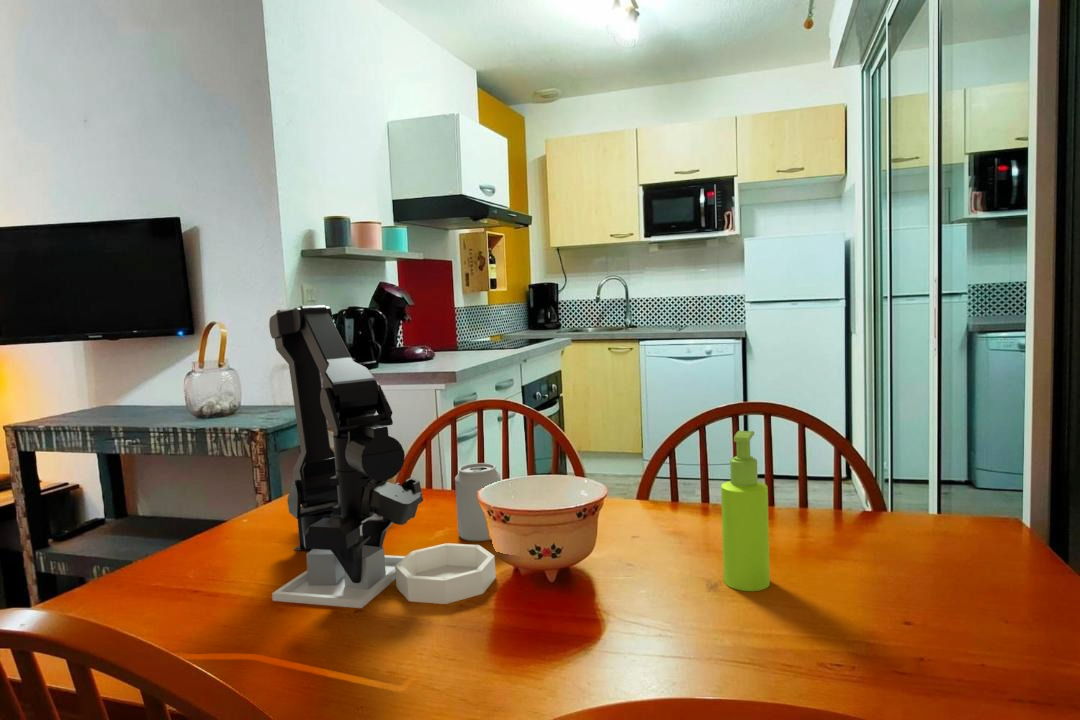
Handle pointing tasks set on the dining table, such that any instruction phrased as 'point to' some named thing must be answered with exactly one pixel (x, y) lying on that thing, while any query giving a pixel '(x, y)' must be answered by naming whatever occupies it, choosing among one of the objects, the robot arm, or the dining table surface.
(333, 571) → the matte grey cube
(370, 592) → the tray
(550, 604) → the dining table surface
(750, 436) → the soap dispenser
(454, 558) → the bowl
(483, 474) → the can
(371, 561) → the light grey cube
